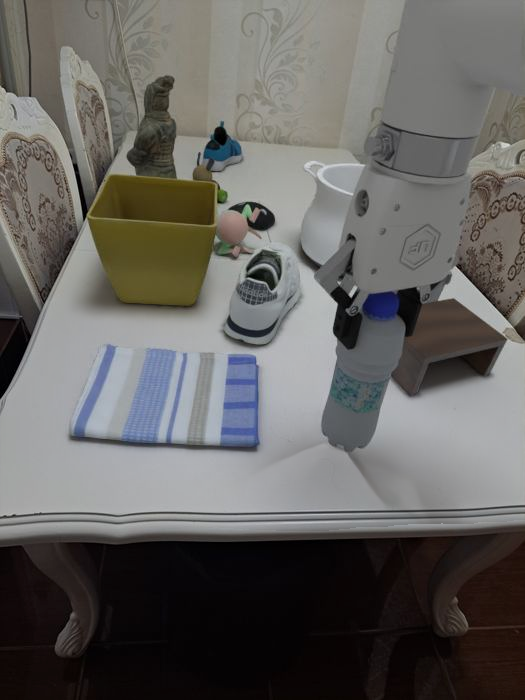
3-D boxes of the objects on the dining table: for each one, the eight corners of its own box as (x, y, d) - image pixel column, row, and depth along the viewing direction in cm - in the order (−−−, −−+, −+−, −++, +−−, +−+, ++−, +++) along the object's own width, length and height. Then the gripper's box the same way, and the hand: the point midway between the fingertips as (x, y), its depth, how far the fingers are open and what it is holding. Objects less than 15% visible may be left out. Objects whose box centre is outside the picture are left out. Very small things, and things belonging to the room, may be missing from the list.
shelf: (489, 374, 78) (507, 338, 74) (410, 396, 72) (425, 358, 67) (440, 332, 86) (453, 298, 82) (365, 348, 80) (375, 311, 76)
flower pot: (212, 319, 82) (217, 225, 72) (96, 313, 80) (84, 216, 70) (213, 265, 97) (217, 181, 87) (116, 259, 95) (108, 173, 85)
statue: (152, 209, 116) (147, 66, 98) (186, 220, 113) (187, 74, 95) (122, 225, 108) (110, 71, 90) (157, 236, 105) (152, 80, 87)
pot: (271, 260, 101) (281, 176, 91) (312, 223, 120) (325, 149, 109) (404, 302, 93) (432, 215, 83) (426, 255, 112) (452, 179, 101)
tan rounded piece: (229, 201, 126) (232, 156, 119) (204, 208, 120) (206, 162, 113) (205, 190, 130) (206, 146, 123) (180, 196, 125) (180, 151, 118)
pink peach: (275, 222, 102) (249, 212, 108) (246, 197, 95) (220, 187, 101) (245, 271, 103) (221, 258, 109) (214, 250, 96) (190, 237, 102)
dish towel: (101, 353, 72) (99, 337, 71) (259, 365, 74) (261, 350, 72) (63, 441, 59) (60, 425, 57) (258, 454, 60) (260, 438, 58)
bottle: (377, 460, 56) (427, 313, 44) (319, 456, 55) (354, 307, 44) (368, 418, 61) (410, 277, 49) (315, 415, 61) (344, 272, 49)
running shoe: (305, 271, 99) (314, 217, 92) (287, 355, 76) (297, 292, 69) (252, 262, 100) (257, 207, 93) (218, 343, 77) (222, 278, 70)
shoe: (248, 154, 160) (252, 115, 153) (224, 174, 142) (227, 130, 134) (222, 149, 161) (224, 110, 154) (195, 168, 143) (196, 125, 136)
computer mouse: (235, 209, 122) (236, 193, 119) (278, 222, 118) (280, 206, 115) (219, 218, 116) (220, 202, 114) (263, 232, 112) (265, 216, 110)
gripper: (356, 170, 33) (316, 375, 44) (535, 161, 39) (462, 341, 50) (304, 140, 38) (279, 329, 49) (469, 136, 45) (416, 304, 55)
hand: (372, 334), depth 49 cm, fingers closed on bottle, 6 cm apart
